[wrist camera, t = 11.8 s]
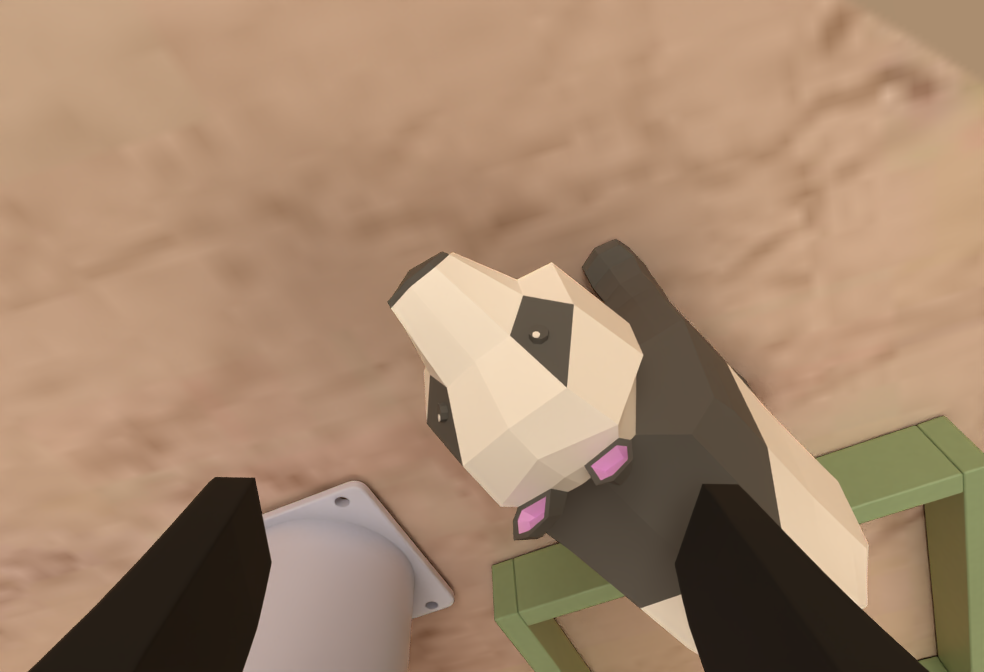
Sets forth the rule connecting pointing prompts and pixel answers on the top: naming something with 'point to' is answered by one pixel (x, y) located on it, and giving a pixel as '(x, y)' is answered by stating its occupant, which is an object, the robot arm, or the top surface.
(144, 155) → the top surface
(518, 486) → the giant panda
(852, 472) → the rim
